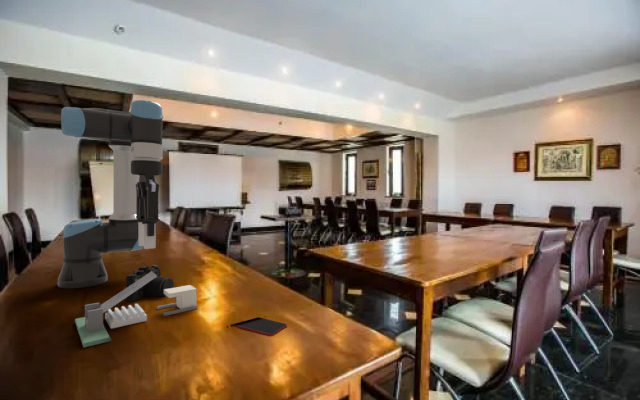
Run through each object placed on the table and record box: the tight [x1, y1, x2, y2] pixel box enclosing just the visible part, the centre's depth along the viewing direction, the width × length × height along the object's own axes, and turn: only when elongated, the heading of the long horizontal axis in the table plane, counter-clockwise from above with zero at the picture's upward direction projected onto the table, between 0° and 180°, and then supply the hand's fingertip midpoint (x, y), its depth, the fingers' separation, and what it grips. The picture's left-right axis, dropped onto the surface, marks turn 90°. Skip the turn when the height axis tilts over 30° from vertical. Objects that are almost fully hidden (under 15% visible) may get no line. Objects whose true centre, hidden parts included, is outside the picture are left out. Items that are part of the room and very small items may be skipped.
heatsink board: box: [74, 302, 198, 348], centre depth 90 cm, size 18×28×6 cm, turn 131°
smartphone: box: [229, 316, 288, 337], centre depth 88 cm, size 7×1×15 cm
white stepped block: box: [164, 284, 197, 309], centre depth 96 cm, size 5×8×6 cm, turn 131°
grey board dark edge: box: [94, 271, 157, 314], centre depth 87 cm, size 17×4×1 cm, turn 130°
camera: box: [125, 264, 175, 302], centre depth 108 cm, size 14×11×10 cm
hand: (146, 246), depth 90 cm, fingers open, 5 cm apart
